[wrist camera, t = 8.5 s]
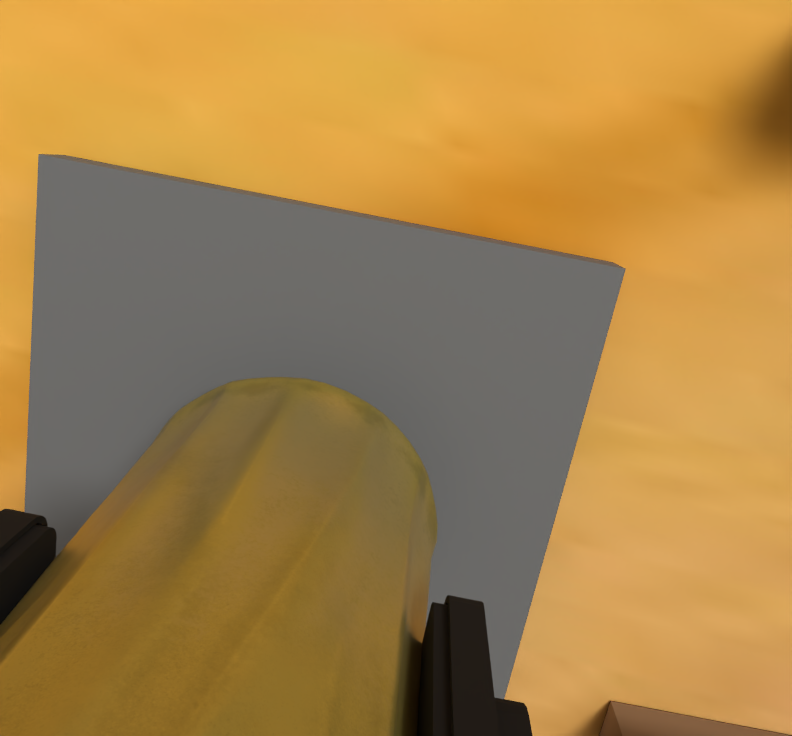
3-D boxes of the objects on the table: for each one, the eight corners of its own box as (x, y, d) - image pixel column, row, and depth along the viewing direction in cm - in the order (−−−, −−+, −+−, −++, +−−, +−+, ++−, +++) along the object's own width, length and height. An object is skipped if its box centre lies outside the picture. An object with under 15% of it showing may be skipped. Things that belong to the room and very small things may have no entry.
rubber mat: (488, 710, 18) (492, 740, 17) (40, 625, 18) (19, 650, 17) (613, 262, 15) (625, 269, 14) (63, 154, 15) (38, 154, 14)
